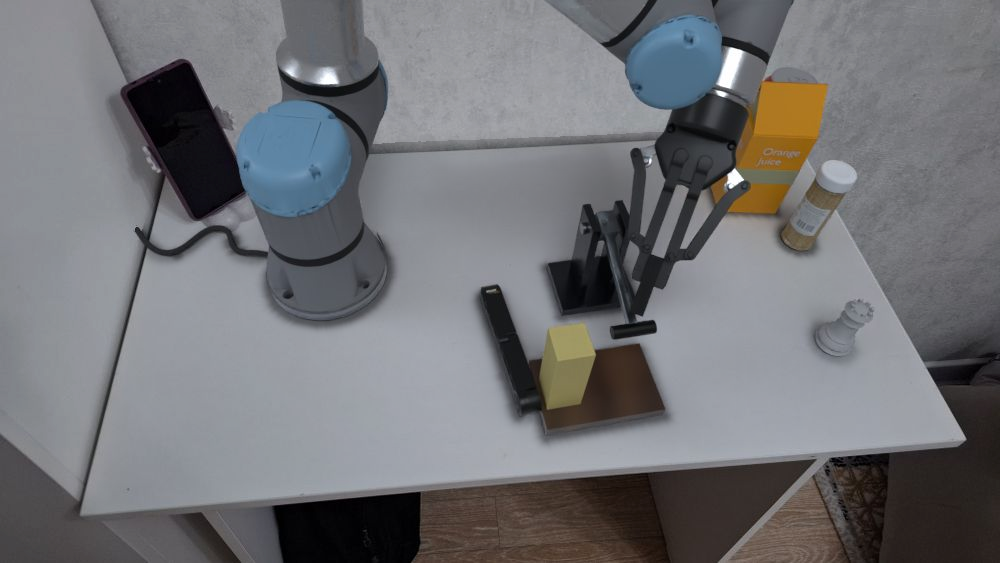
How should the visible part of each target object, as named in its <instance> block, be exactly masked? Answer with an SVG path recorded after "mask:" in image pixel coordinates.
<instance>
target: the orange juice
mask: <svg viewBox="0 0 1000 563" xmlns="http://www.w3.org/2000/svg"><path fill="white" fill-rule="evenodd" d="M828 89H829V83H818V84H816V83H792V82H769V81H764V80H762V83H761V86H760V88H759V91H758V94H757V96H756V99H755V101H754V104H753V105H751V106H749V107H746V109H747V110H748V113H749V117H748V120H747V123H746V125H745V128H744V131H743V133H742V136H741V138H740V141H739V144H738V146H737V149H736V167H735V169H736V170H737V172H738V173H739V174H740V175H741V177H742V178H743V179H744V180H746V181H749V182H750V184H751V188H750V190H749V191H748V192H746V193H745V194H743V195H742V196H741V197H739V198H738V199H737V200H735V201H734V202H733V204H732V205H731V207H730V208H729V210H728V211H727V213H741V214H742V213H743V214H744V213H745V214H767V215H768V214H772V215H776V213H777V212H778V209H779V208H780V206H781V205H782V203H783V201H784V199H785V197H786V196H787V194H788V193H789V190H790V189H791V187H792V185H793V184H794V182H795V180H796V179H797V177H798V175H799V173H800V172H801V169H802V167H803V166H804V164H805V163H806V160H807V159H808V157H809V155H810V154H811V151H812V150H813V148H814V146H815V145H816V143H817V142H818V139H819V134H820V129H821V123H822V118H823V114H824V109H825V104H826V98H827V93H828ZM726 182H727V176H725V177H723V178H722V179H721V180H719V181H718V182H716V183H715V184H713V185H712V186H710V188H711V192H712V196H713V199H714V204H715V205H716V204H717V203H718V201H719V200H720V199H721V197H722V196H723V195H724V194H725V193H726V192H725V191H724V185H725V183H726Z"/></svg>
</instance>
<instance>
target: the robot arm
mask: <svg viewBox="0 0 1000 563" xmlns="http://www.w3.org/2000/svg"><path fill="white" fill-rule="evenodd" d="M279 1H280V2H279V3H280V8H281V12H282V18H283V24H284V31H285V36H286V37H285V38H284V39H282V40H281V42H280V43H279V44H278V46H277V48H276V51H275V62H276V66H277V71H278V76H279V81H280V87H281V100H280V102H277V103H275V104H272V105H270V106H268V107H267V112H261V111H259V112H258V113H256V114H255V115H253V116H252V117H251V118H250V119H249V120H248V121H247V123H245V125H244V126H243V128H242V130H241V132H240V134H239V136H238V139H237V141H236V148H235V157H236V163H237V166H238V173H239V176H240V180H241V183H242V187H243V189H244V191H245V193H246V194H247V196H248V197H249V200H250V202H251V205H252V207H253V210H254V212H255V215H256V217H257V220H258V222H259V224H260V227H261V229H262V232H263V234H264V237H265V240H266V241H267V244H268V249H267V250H268V251H267V250H259V249H242V248H240V247H238V246H237V244H236V242H235V238H234V235H233V233H232V231H231V229H230V228H228V227H227V226H225V225H221V224H217V225H216V224H214V225H209V226H207V227H205V228H203V229H201V230H200V231H198V232H197V233H196V234H194V235H193V236H192V237H191V238H189V239H188V240H187V241H186V242H184V243H183V244H181V245H179V246H177V247H175V248H172V249H164V248H163V249H162V248H159V247H157V246H155V244H152V242H151V241H150V240H149V239H148V237H146V235H145V234H144V232H143V231H142V229H141V228H140V227H139V226H138V227H136V228H135V231H134V233H135V234H136V236H137V237H138V238H139V240H140V241H141V243H142V244H143V245H144V246H145V247H146V248H147V249H149V251H151V252H153V253H155V254H157V255H160V256H174V255H177V254H180V253H181V252H182V253H183V252H185V251H186V250H187V249H189V248H190V247H191V246H193V245H194V244H195V243H197V242H198V241H200V239H201V238H203V237H205V236H206V235H207V234H209V233H212V232H223V233H224V234H225V235H226V238H227V242H228V245H229V247H230V249H231V250H232V251H233V252H234V253H236V254H238V255H240V256H255V257H264V258H267V262H266V270H265V274H266V275H265V276H266V277H265V278H266V282H267V285H268V287H269V290H270V292H271V294H272V297H273V298H274V300H275V301H276V303H277V304H278V305H279V307H281V308H282V309H283V310H284V311H286V312H288V313H289V314H290V315H293V316H296V317H298V318H301V319H305V320H310V321H331V320H338V319H340V318H344V317H347V316H350V315H352V314H355V313H356V312H358V311H360V310H361V309H363V308H365V307H366V306H367V305H368V304H370V303H371V302H372V301H373V300H374V299H375V298H376V297H377V296H378V294H379V293H380V291H381V290H382V288H383V286H384V284H385V281H386V278H387V272H388V271H387V270H388V268H387V267H388V266H387V265H388V264H387V259H386V254H385V253H387V249H386V246H385V244H384V242H383V240H382V238H381V236H380V234H379V232H378V230H376V231H375V232H376V235H377V237H376V235H375V234H374V233H373V231H372V230H371V229H370V227H369V225H367V224H366V222H365V221H364V215H363V211H362V210H363V209H362V205H361V200H360V199H361V198H360V194H359V191H360V190H359V189H360V182H361V179H362V176H363V173H364V171H365V168H366V165H367V161H368V159H369V155H370V153H371V150H372V148H373V144H374V142H375V138H376V136H377V132H378V129H379V127H380V124H381V121H382V120H383V118H384V115H385V112H386V110H387V107H388V100H389V80H388V75H387V72H386V69H385V67H384V65H383V63H382V61H381V60H380V56H379V51H378V48H377V46H376V44H375V43H374V42H373V40H371V39H369V37H367V36H366V35H365V25H364V24H365V22H364V6H363V0H279ZM543 1H544V2H546V3H547V4H548V5H549V6H551V7H552V8H553V9H555V10H556V11H557V12H558V13H560V14H561V15H562V16H563V17H565V18H566V19H567V20H569V21H570V22H571V23H573V24H574V25H575V26H576V27H578V28H579V29H580V30H581V31H583V32H584V33H585V34H586V35H588V36H589V37H590V38H592V39H593V40H594V41H595V42H596V43H598V44H599V45H601V47H603V48H604V49H605V50H607V51H608V52H609V53H611V55H612V56H614V57H615V58H617V59H618V60H619V61H620V62H622V63H623V64H624V73H625V74H624V75H625V77H626V79H627V81H628V84H629V87H630V89H631V91H632V93H633V95H634V96H635V97H636V98H637V100H639V101H640V102H641V103H643V104H644V105H646V106H648V107H650V108H653V109H658V110H667V111H669V110H671V112H670V115H669V118H668V120H667V122H666V126H665V128H664V130H663V132H662V133H661V134H660V135H659V136H658V137H657V138H656V140H655V142H654V144H652V145H648V146H645V147H640V148H638V147H634V148H631V150H630V152H629V156H630V160H631V163H632V169H633V179H632V188H631V196H630V206H629V225H628V234H627V236H628V239H629V240H630V242H631V243H632V244H634V246H636V247H637V248H638V255H637V258H636V259H635V260H636V261H635V264H634V266H633V269H632V271H631V280H632V281H635V282H639V284H638V287H637V289H636V293H635V298H634V301H633V303H632V306H631V309H630V313H633V314H636V316H639V317H642V318H643V317H644V315H645V312H646V310H647V307H648V304H649V301H650V299H651V296H652V294H653V290H654V288H656V289H659V290H661V291H662V290H664V289H665V288H666V287H667V285H668V282H669V279H670V276H671V274H672V271H673V268H674V266H675V265H676V263H677V262H680V261H694V260H695V259H696V258H697V256H698V255H699V253H700V252H701V251H702V249H703V247H704V246H705V244H706V243H707V242H708V241H709V239H710V237H711V236H712V235H713V233H714V232H715V230H716V229H717V228H718V226H719V224H720V223H721V221H722V220H723V218H724V217H725V216H726V214H727V213H728V212H727V211H728V210H729V208H730V207H731V205H732V204H733V202H734V201H735V200H737V199H738V198H739V197H741V196H742V195H743V194H745V193H746V192H748V191H749V190H750V188H751V184H750V182H749V181H746V180H744V179H743V178H742V177H741V175H740V174H739V173H738V172H737V170H736V169H735V167H736V149H737V146H738V144H739V141H740V138H741V136H742V133H743V131H744V128H745V125H746V123H747V120H748V117H749V113H748V110H747V109H746V107H749V106H751V105H753V104H754V101H755V99H756V96H757V94H758V91H759V88H760V86H761V83H762V81H764V79H765V75H766V72H767V70H768V66H769V62H770V60H771V57H772V55H773V52H774V50H775V47H776V45H777V42H778V40H779V37H780V34H781V32H782V29H783V27H784V24H785V22H786V19H787V16H788V14H789V11H790V9H791V8H792V6H793V4H794V2H795V0H543ZM655 156H656V159H657V162H658V164H659V165H658V166H659V168H660V171H661V175H662V178H663V179H664V183H663V186H662V189H661V192H660V194H659V197H658V200H657V202H656V205H655V207H654V210H653V214H652V216H651V219H650V222H649V224H648V226H647V230H646V232H645V235H643V234H642V233H641V229H642V218H643V211H644V210H643V209H644V201H645V190H646V181H647V169H648V168H650V167H651V166H652V164H653V158H654V157H655ZM725 176H727V182H726V183H725V185H724V191H725V192H726V193H725V194H724V195H723V196H722V197H721V199H720V200H719V201H718V203H717V204H716V203H715V205H714V207H713V209H712V210H711V211H710V213H709V214H708V216H707V217H706V219H705V220H704V222H702V225H701V226H700V228H699V229H698V230H697V232H696V234H695V235H694V237H693V238H692V239H691V241H690V242H689V244H688V246H687V247H686V248H682V244H683V242H684V239H685V237H686V233H687V231H688V228H689V225H690V224H691V220H692V218H693V215H694V212H695V210H696V207H697V205H698V201H699V198H700V196H701V193H702V191H703V192H704V191H705V190H708V189H709V188H711V186H712V185H713V184H715V183H716V182H718V181H719V180H721V179H722V178H723V177H725ZM677 186H684V188H687V189H688V191H687V193H686V195H685V199H684V201H683V204H682V207H681V209H680V213H679V215H678V217H677V220H676V223H675V225H674V229H673V232H672V234H671V237H670V239H669V243H668V245H667V247H666V251H665V254H664V256H663V257H661V256H658V255H655V254H652V253H653V250H654V247H655V245H656V242H657V239H658V236H659V234H660V230H661V228H662V226H663V224H664V221H665V217H666V215H667V212H668V209H669V207H670V205H671V202H672V199H673V196H674V193H675V191H676V188H677Z"/></svg>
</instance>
